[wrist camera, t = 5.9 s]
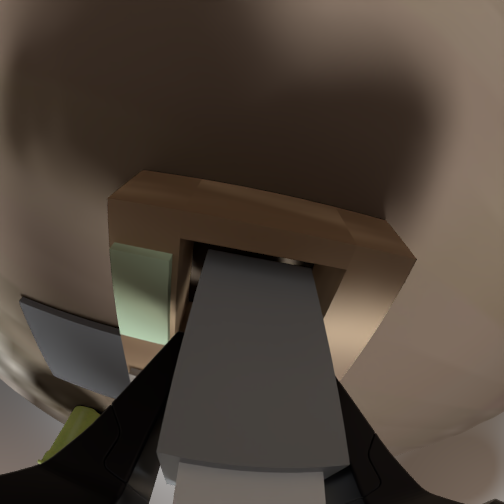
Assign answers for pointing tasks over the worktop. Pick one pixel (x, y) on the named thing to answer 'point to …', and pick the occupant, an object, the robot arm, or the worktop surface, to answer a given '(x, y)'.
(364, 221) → the socket block
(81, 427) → the plant pot
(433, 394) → the worktop surface
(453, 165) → the worktop surface
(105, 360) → the pad
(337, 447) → the plug
